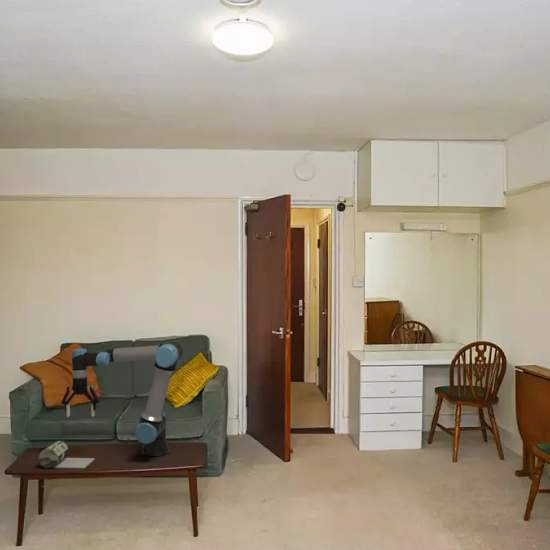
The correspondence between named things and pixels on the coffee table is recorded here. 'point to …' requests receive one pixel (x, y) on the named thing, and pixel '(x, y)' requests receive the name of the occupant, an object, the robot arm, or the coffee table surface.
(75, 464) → the mat
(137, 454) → the coffee table surface
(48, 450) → the coffee can
